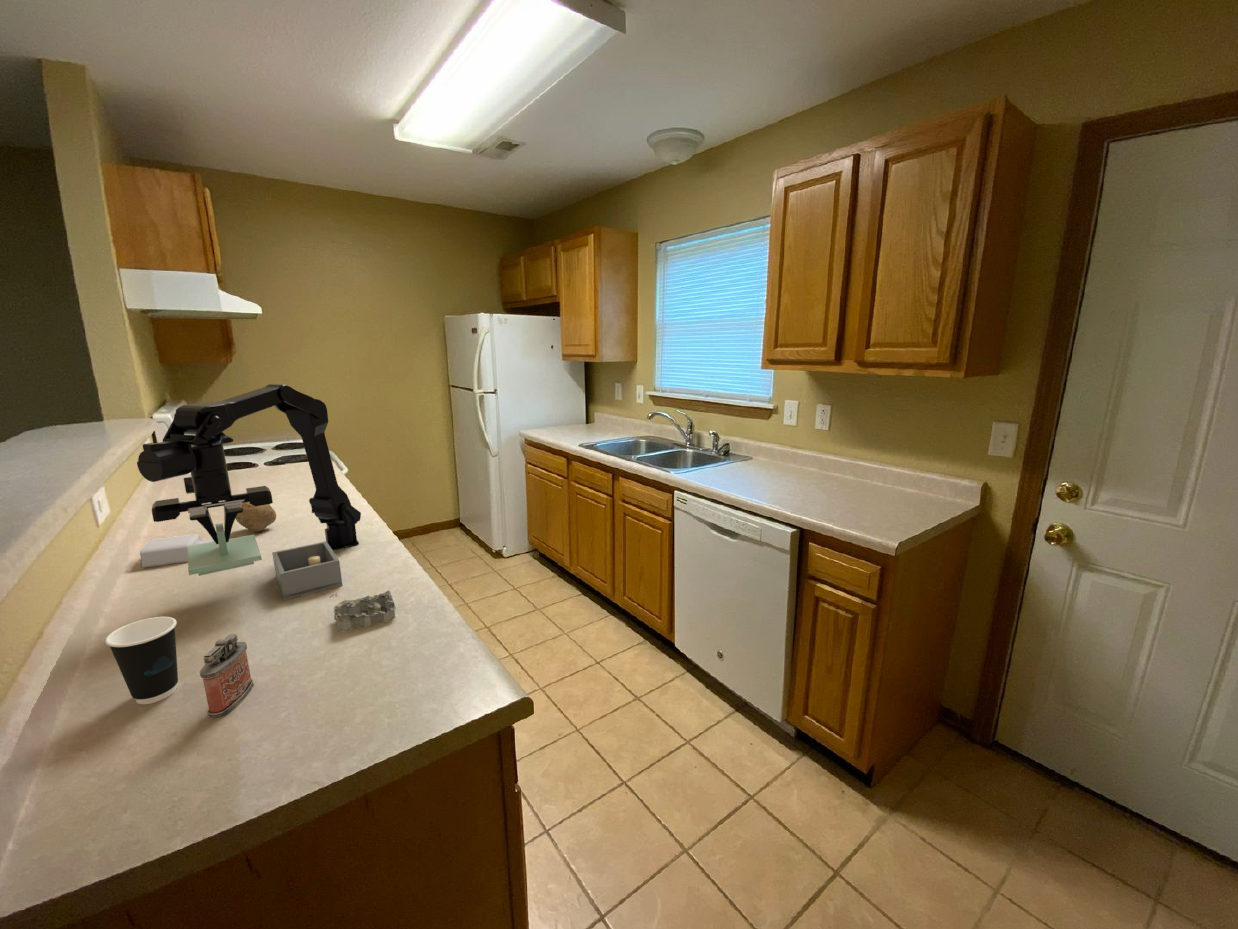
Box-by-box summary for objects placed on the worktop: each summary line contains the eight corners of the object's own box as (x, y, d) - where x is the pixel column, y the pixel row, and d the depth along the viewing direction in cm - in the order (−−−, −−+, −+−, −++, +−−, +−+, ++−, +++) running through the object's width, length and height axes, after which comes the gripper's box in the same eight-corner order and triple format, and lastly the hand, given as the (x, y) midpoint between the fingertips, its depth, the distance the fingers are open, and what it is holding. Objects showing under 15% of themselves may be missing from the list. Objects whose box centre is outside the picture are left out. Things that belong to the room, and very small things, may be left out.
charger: (221, 558, 129) (143, 569, 122) (228, 545, 137) (156, 555, 130) (217, 540, 128) (138, 551, 121) (225, 528, 136) (152, 537, 129)
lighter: (237, 683, 82) (226, 627, 80) (259, 682, 83) (249, 626, 80) (202, 719, 75) (189, 658, 72) (226, 718, 75) (214, 657, 73)
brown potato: (230, 534, 144) (224, 499, 142) (262, 523, 152) (256, 491, 150) (251, 538, 141) (246, 504, 139) (283, 528, 149) (278, 495, 147)
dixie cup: (171, 707, 77) (156, 641, 75) (107, 715, 75) (90, 648, 73) (200, 674, 85) (187, 613, 82) (143, 681, 83) (128, 619, 80)
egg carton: (335, 636, 96) (333, 616, 95) (335, 617, 103) (332, 599, 102) (397, 622, 101) (395, 603, 100) (393, 605, 108) (391, 587, 107)
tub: (329, 564, 126) (326, 541, 124) (342, 585, 115) (339, 560, 114) (275, 576, 119) (272, 552, 118) (284, 600, 109) (280, 574, 107)
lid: (255, 542, 115) (250, 513, 114) (262, 564, 105) (257, 531, 103) (189, 555, 108) (183, 524, 107) (190, 580, 98) (183, 545, 96)
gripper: (261, 455, 114) (271, 522, 117) (147, 467, 102) (163, 541, 106) (267, 464, 105) (278, 536, 109) (144, 479, 94) (161, 559, 98)
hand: (222, 542), depth 106 cm, fingers closed on lid
